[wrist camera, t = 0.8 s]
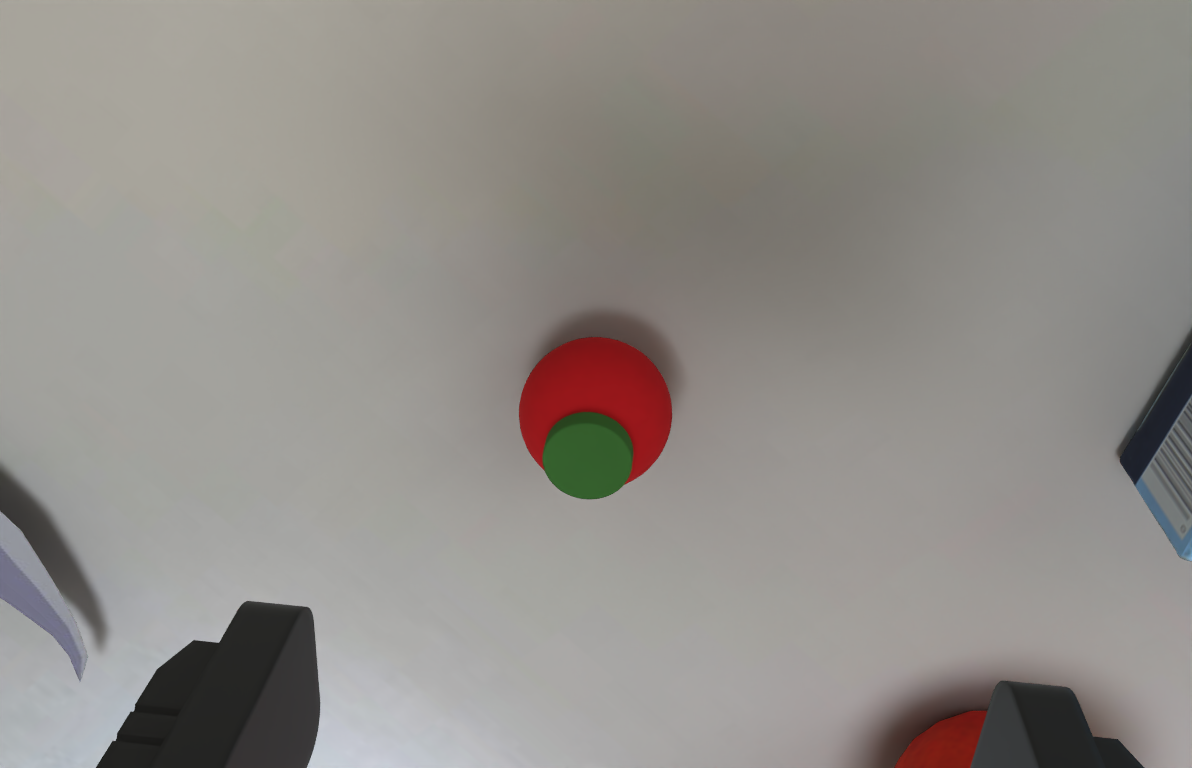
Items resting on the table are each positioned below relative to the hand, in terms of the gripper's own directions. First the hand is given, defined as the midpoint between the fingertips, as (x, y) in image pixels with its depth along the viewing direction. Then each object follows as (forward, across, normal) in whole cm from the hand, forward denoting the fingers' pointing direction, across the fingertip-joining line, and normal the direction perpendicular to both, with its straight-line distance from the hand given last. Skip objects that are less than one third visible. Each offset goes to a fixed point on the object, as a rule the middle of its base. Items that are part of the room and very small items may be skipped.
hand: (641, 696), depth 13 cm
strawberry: (+17, +2, +5) cm, 18 cm away
